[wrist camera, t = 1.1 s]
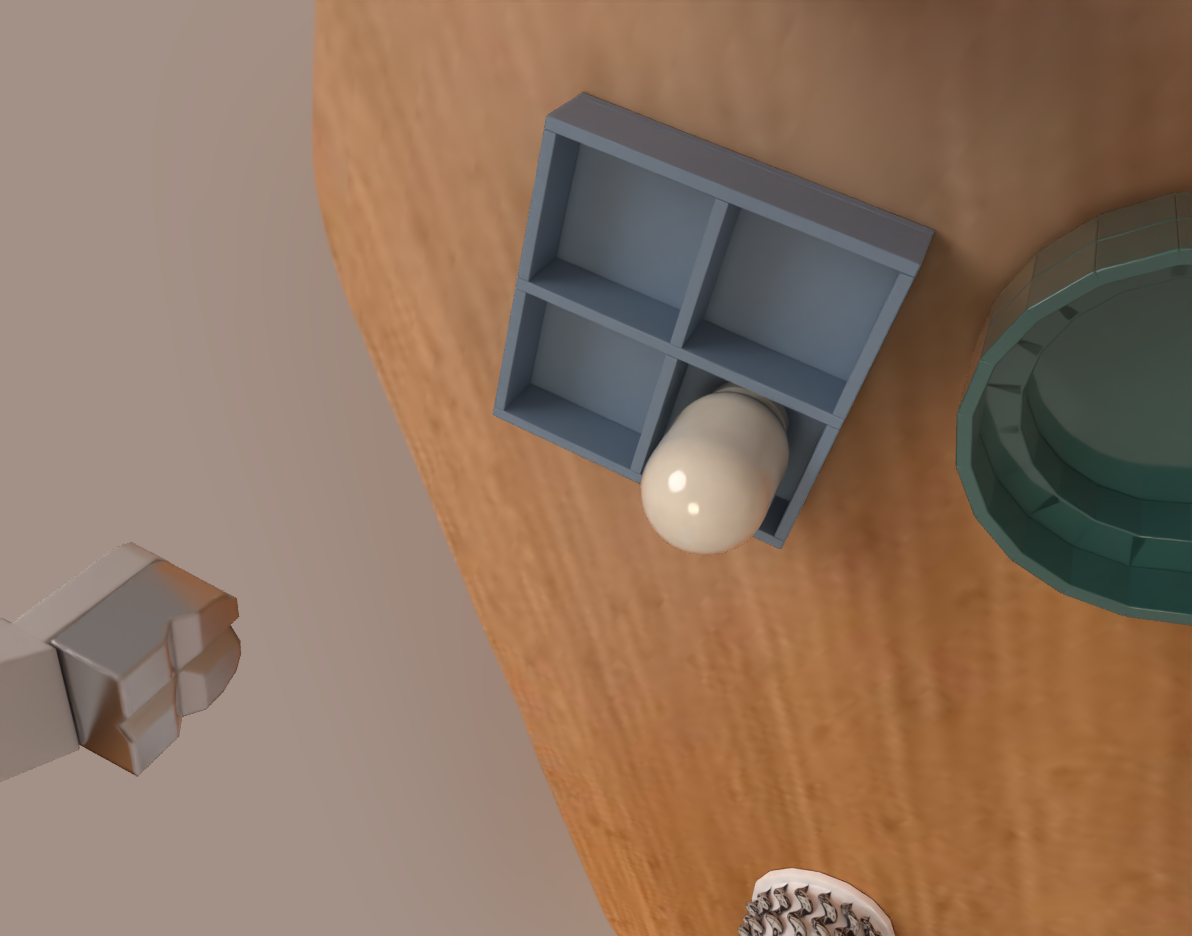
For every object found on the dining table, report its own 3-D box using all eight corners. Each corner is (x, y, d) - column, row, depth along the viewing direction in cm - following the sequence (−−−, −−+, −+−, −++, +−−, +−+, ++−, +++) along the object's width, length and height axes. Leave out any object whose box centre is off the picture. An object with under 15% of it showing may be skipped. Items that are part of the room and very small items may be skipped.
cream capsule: (684, 364, 40) (610, 466, 34) (800, 369, 38) (741, 478, 32) (697, 462, 42) (631, 572, 37) (807, 472, 40) (755, 590, 35)
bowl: (981, 191, 32) (960, 250, 28) (1497, 173, 26) (1554, 244, 23) (969, 513, 39) (952, 594, 35) (1377, 553, 33) (1407, 655, 30)
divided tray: (582, 91, 36) (546, 115, 33) (935, 229, 33) (921, 265, 31) (523, 381, 45) (491, 415, 42) (799, 507, 42) (780, 550, 40)
